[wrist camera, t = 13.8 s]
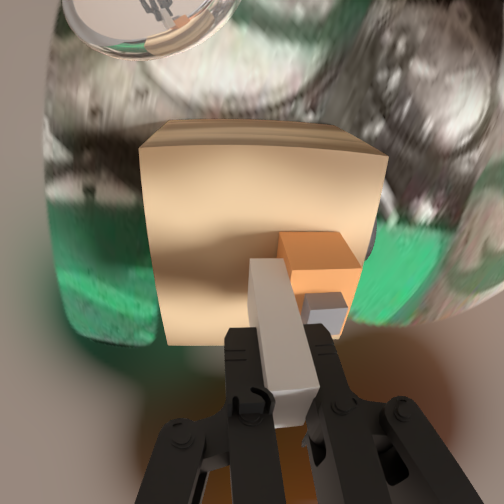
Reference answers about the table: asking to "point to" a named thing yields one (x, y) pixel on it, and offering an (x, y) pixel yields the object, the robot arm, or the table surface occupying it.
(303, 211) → the block
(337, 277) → the bar
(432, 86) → the table surface
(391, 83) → the table surface
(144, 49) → the light bulb
